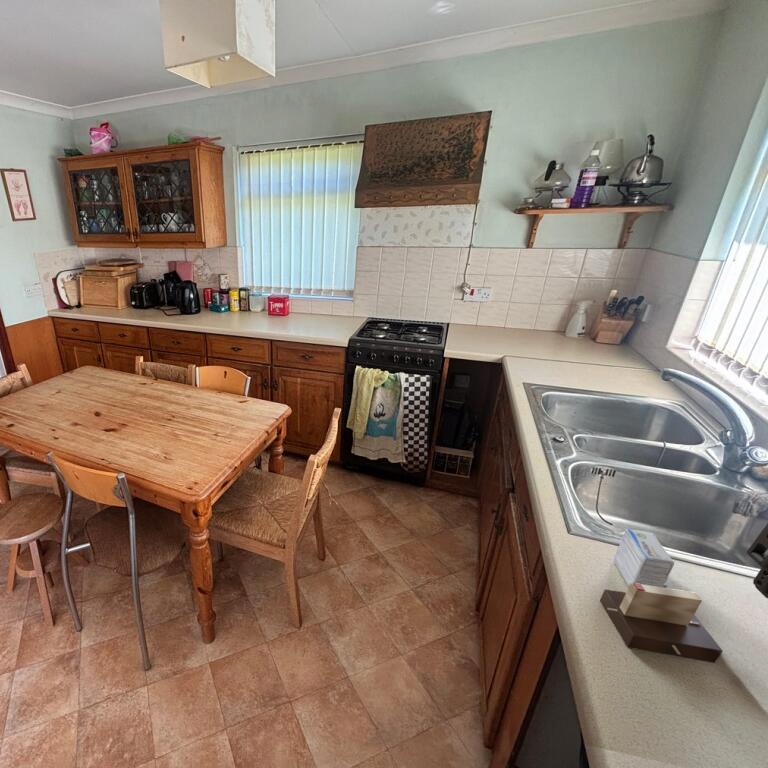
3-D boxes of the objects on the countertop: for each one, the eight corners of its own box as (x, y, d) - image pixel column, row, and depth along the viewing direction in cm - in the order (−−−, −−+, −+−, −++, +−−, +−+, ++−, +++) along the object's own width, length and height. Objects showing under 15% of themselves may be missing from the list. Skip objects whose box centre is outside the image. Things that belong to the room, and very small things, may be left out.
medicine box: (658, 598, 76) (676, 563, 73) (629, 591, 78) (645, 557, 74) (638, 565, 83) (653, 532, 80) (611, 560, 85) (625, 527, 81)
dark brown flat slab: (668, 602, 76) (675, 590, 74) (725, 676, 64) (734, 663, 63) (584, 589, 79) (589, 577, 77) (623, 657, 67) (629, 645, 66)
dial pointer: (681, 617, 70) (695, 591, 67) (687, 625, 68) (703, 599, 66) (619, 607, 72) (631, 581, 69) (624, 615, 70) (637, 589, 68)
